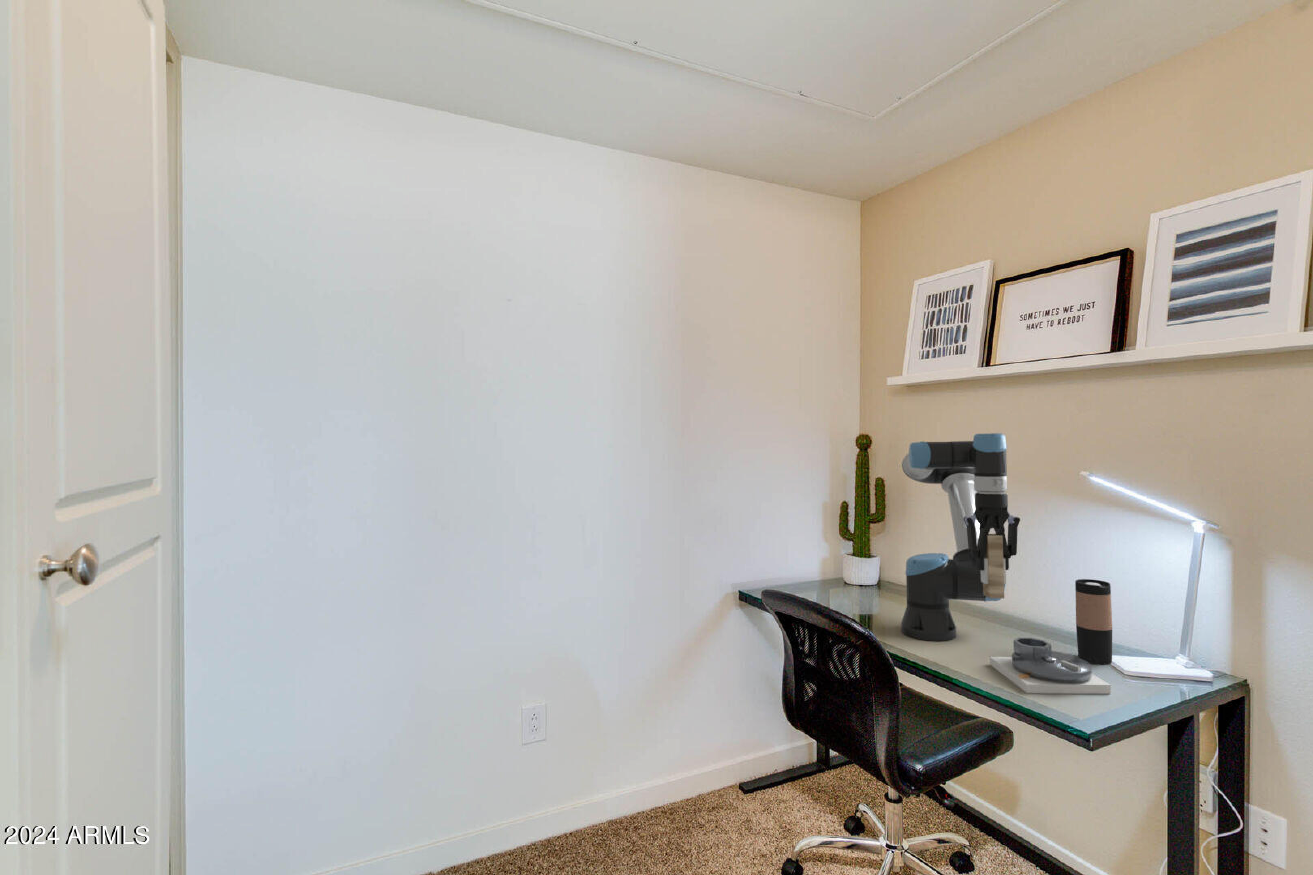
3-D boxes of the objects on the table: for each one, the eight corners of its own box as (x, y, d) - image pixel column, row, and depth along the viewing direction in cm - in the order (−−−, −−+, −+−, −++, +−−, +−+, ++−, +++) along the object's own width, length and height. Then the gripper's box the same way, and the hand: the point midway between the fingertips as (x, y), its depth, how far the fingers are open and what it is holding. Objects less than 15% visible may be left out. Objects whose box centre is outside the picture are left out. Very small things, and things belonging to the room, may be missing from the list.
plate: (990, 664, 157) (989, 654, 157) (1063, 664, 156) (1063, 655, 156) (1027, 693, 139) (1026, 682, 139) (1110, 693, 138) (1110, 682, 138)
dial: (998, 656, 155) (998, 637, 156) (1065, 656, 154) (1064, 637, 154) (1033, 681, 139) (1033, 660, 139) (1108, 682, 138) (1107, 660, 138)
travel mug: (1078, 652, 164) (1076, 577, 165) (1114, 658, 160) (1111, 581, 160) (1075, 660, 159) (1073, 583, 159) (1112, 667, 154) (1110, 586, 154)
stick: (983, 594, 162) (981, 533, 162) (997, 594, 161) (995, 533, 162) (989, 598, 158) (988, 535, 158) (1004, 598, 158) (1002, 535, 158)
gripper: (963, 494, 157) (966, 586, 157) (1031, 493, 156) (1034, 585, 155) (951, 491, 164) (954, 579, 164) (1016, 490, 163) (1019, 579, 163)
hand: (993, 582), depth 160 cm, fingers closed on stick, 4 cm apart
